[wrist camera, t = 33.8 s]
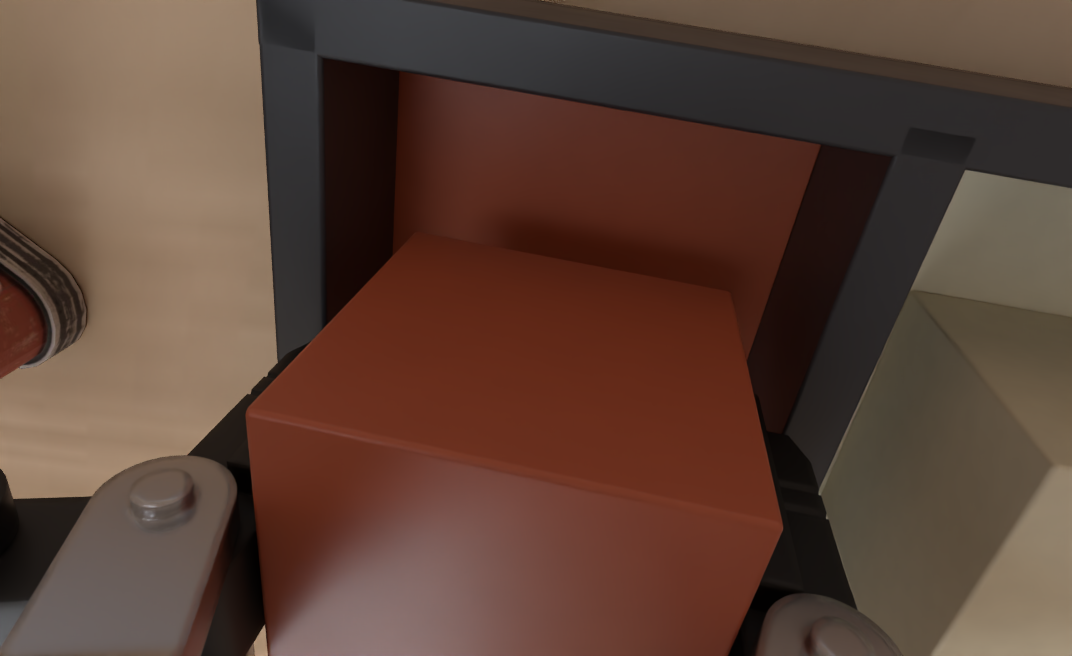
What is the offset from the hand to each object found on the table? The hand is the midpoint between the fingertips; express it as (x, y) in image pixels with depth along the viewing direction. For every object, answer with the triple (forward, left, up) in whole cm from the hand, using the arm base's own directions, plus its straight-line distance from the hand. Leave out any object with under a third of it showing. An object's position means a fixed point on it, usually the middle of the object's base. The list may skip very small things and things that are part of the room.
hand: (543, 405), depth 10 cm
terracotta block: (0, 0, 0) cm, 0 cm away
